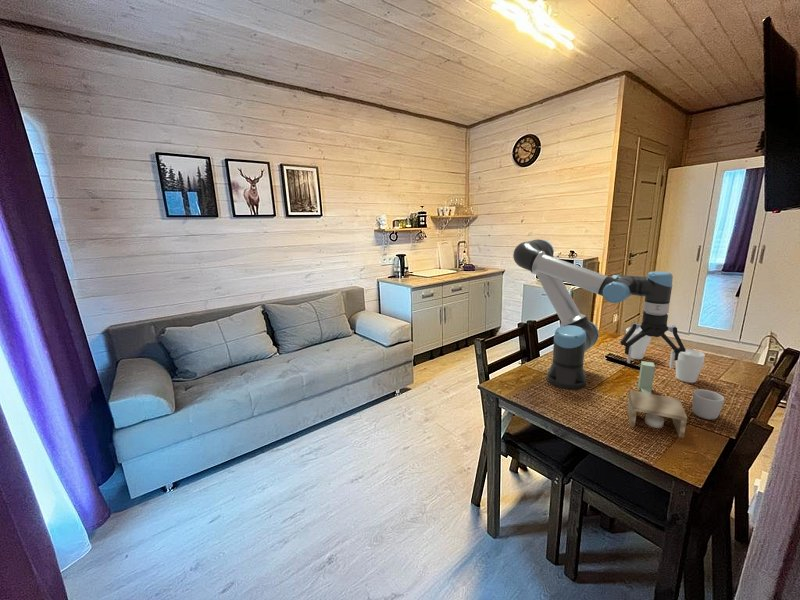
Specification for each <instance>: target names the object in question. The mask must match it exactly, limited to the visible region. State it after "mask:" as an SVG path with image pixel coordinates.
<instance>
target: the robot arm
mask: <svg viewBox="0 0 800 600" xmlns="http://www.w3.org/2000/svg"><path fill="white" fill-rule="evenodd" d="M554 254H555V252H554V247H553V245H552V244H551V242H549V241H547V240H545V239H539V238H538V239H537V238H536V239H533V240H528V241H524V242H521V243H518V245H517V246H516V247H515V248H514V250H513V261H514V263H515V264H516V266H518V267H520V268H522V269H525V270H526V271H529V272H530V273H531V274H532V275H535V276H536V277H537V278H538V281H539V283H540V284H541V287H542V288H543V290H544V292H545V294H546V296H547V298H548V300H549V301H550V304H551V305H552V307H553V308H554V310H555V312H556V314H557V317H558V318H559V320H560V323H559V326H558V327H557V328H556V329H555V331H554V335H553V347H552V349H553V350H552V363H551V365H550V367H549V369H548V370H547V374H546V380H547V382H548V383H550V384H551V385H552V386H554V387H557V388H559V389H563V390H570V391H571V390H573V391H574V390H575V391H577V390H582V389H585V388H586V386H587V381H588V380H587V375H586V372H585V369H584V361H585V354H586V353H585V352H587V351H589V349H591V348H592V347H593V346H595V344H596V343H597V342H598V340H599V338H600V337H599V336H600V331H599V329H598V326H597V325H596V324H595V323H594V322H592V321H590V320H589V319H588V317H587V315H585V314H582V313H581V312H580V310H579V308H578V306H577V304H576V302H575V301H574V298H573V297H572V295H571V294H570V292H569V290H568V289H567V286H566V285H565V283H567V284H571V285H573V286H576V287H577V288H581V289H583V290H586V291H589V292H591V293H594V294H597V295H598V296H602V297H603V299H604V300H605V301H606V302H609V303H611V304H618V303H619V304H620V303H621V302H624V301H626V300H627V299H628V298H630V296H636V297H637V296H638V297H644V305H643V311H644V312H643V314H642V322H641V324H640V323H636V322H632V323H631V328H630V330H629V331H628V332H627V333H626V332H625V335H624V336H623V337H622V338H621V340H620V345H621V346H623V347H624V354H625V355H627V358H626V361H627V364H631V359H632V358H631V349H632V348H631V345H632V344H634V343H635V342H637V341H638V340H639V339H641V338H642V337H644V336H645V335H647V336H652V337H654V338H659V337H661V338H662V339H663V340H664V341H665V342H666V343H667V344H668V345H669V347H670V348H671V351H670V355H669V356H670V359H669V363H668V366H669V369H672V370H673V369H674V366H675V365H674V364H675V361H676V360H678V355H679V353H680V352H685V351H686V350H685V349H686V348H685V346H684V343H683V342H682V340H681V338H680V336H679V333H678V327H677V326H676V325H672V326H668V319H669V314H668V313H669V310H670V302H671V295H672V290H673V277H674V276H673V274H672V273H671V272H668V271H661V270H660V271H649V272H648V273H647V275H646V276H639V275H628V274H627V275H624V274H614V275H612V276H608V275H605V274H602V273H600V272H597V271H594V270H592V269H589V268H585V267H582V266H580V265H577V264H575V263H574V264H573V263H572V262H569V261H566V260H562V259H560V258H557V257H555V256H554ZM564 282H565V283H564ZM638 328H641V329H642V331H640V332H639V333H638V334H637V335H636V336H634V337H633V338H632V339H630V340H629V341H628V342H627V340H628V339H629V338H630V337H631V335H632V334H633V333H634V331H635V330H636V329H638ZM667 331H669V332H670V333H672V335H673V337H674V339H675V340H676V343H677V345H678V347H677V346H676V345H675V344H674V342H673V341H672V340H671V339H670V338H669V337H668V336H667V335H666V332H667Z"/></svg>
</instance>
